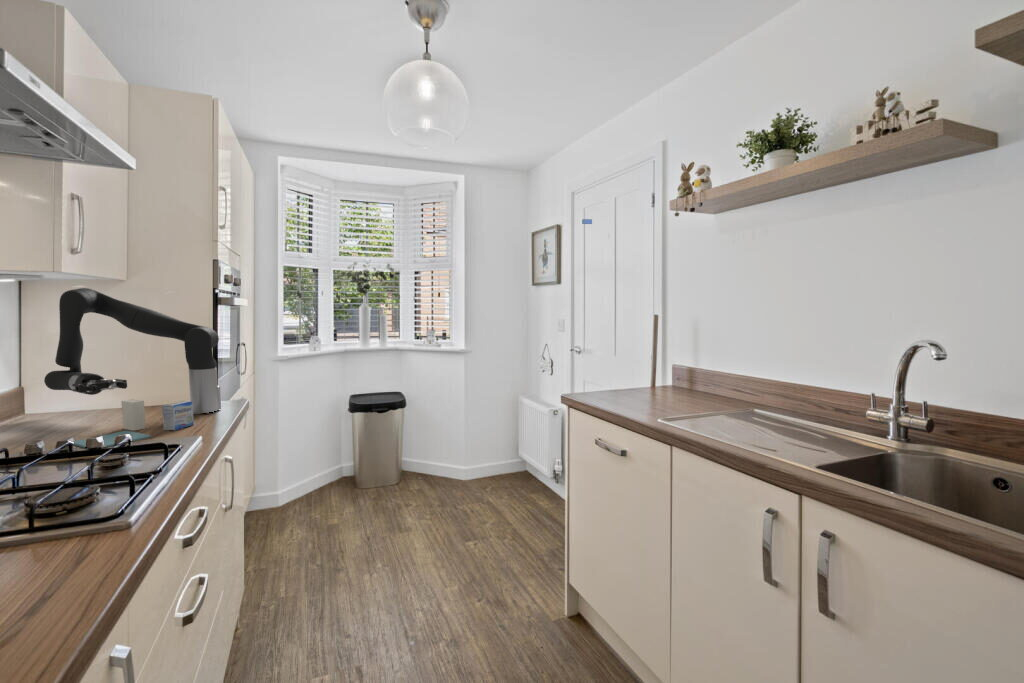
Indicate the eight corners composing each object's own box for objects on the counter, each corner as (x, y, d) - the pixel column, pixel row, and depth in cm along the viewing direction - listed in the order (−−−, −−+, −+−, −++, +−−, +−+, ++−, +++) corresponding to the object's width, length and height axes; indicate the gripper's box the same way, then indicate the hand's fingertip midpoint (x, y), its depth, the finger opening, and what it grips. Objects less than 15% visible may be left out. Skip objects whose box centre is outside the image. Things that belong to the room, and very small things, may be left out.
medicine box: (174, 431, 161) (172, 405, 161) (163, 430, 162) (161, 405, 162) (194, 425, 169) (192, 400, 168) (183, 424, 170) (182, 400, 169)
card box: (134, 426, 168) (133, 399, 167) (145, 428, 165) (143, 400, 164) (123, 428, 165) (121, 400, 164) (133, 430, 162) (132, 402, 161)
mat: (126, 432, 160) (126, 430, 160) (151, 437, 154) (151, 435, 154) (69, 444, 146) (69, 442, 146) (94, 450, 140) (94, 448, 140)
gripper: (61, 375, 169) (86, 379, 162) (109, 370, 182) (134, 374, 175) (62, 396, 170) (87, 401, 163) (110, 390, 183) (134, 394, 176)
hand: (111, 387), depth 169 cm, fingers open, 8 cm apart
